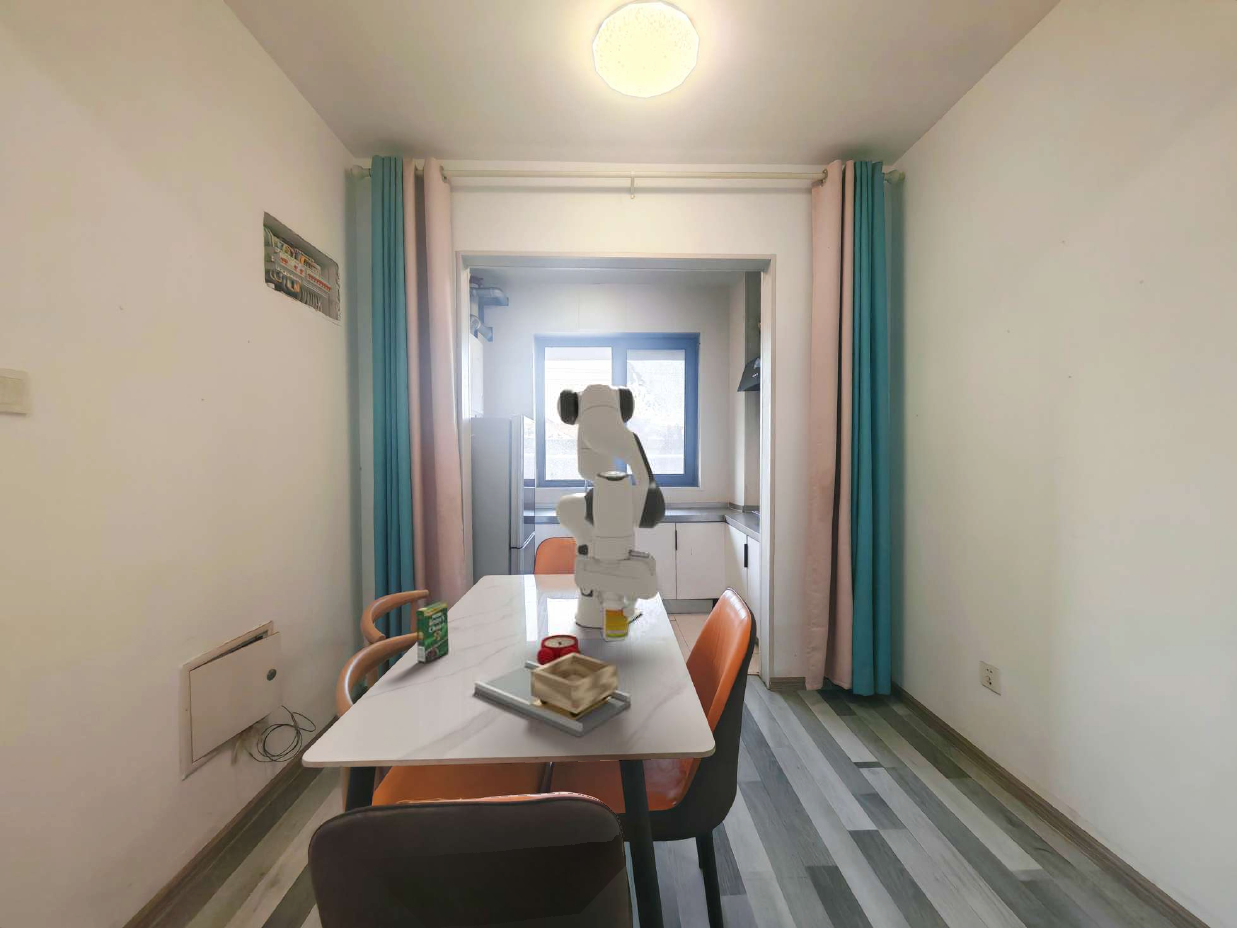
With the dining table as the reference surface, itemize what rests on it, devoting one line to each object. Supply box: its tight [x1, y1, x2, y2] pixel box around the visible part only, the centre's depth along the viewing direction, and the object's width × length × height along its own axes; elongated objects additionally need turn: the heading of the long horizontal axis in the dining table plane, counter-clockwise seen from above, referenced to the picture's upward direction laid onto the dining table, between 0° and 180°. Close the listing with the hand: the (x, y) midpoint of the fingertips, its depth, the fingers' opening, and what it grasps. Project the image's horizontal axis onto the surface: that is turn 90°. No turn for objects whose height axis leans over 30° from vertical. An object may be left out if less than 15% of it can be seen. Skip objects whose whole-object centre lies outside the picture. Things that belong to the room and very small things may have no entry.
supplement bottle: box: [602, 592, 629, 642], centre depth 107 cm, size 5×5×10 cm
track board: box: [474, 660, 631, 738], centre depth 104 cm, size 15×30×2 cm, turn 52°
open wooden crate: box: [531, 652, 619, 717], centre depth 100 cm, size 12×12×6 cm
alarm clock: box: [536, 634, 582, 665], centre depth 125 cm, size 10×6×15 cm
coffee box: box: [415, 601, 450, 664], centre depth 127 cm, size 8×3×13 cm, turn 154°
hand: (615, 613), depth 107 cm, fingers closed on supplement bottle, 5 cm apart
